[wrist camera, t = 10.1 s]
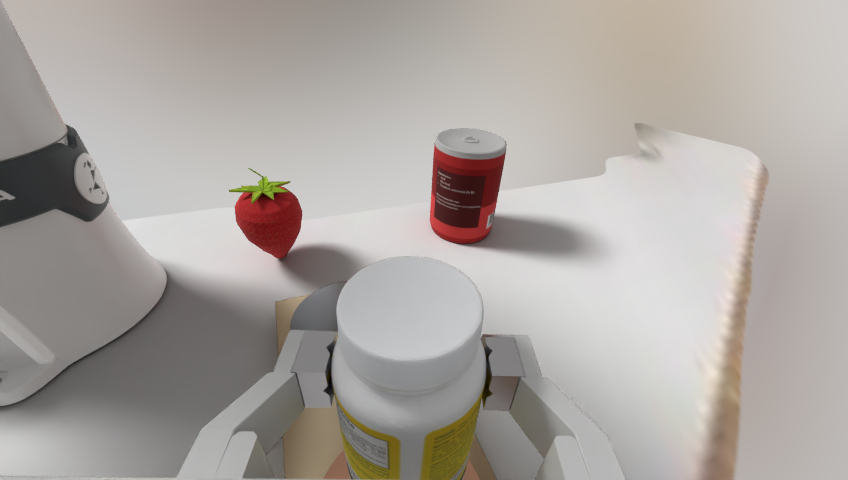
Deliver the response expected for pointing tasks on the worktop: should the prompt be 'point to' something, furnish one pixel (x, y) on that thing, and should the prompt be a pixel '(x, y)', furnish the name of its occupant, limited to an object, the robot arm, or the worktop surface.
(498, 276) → the worktop surface
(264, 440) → the robot arm
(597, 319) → the worktop surface
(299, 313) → the board
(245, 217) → the strawberry
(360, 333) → the supplement bottle
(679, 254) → the worktop surface
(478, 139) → the canned food
